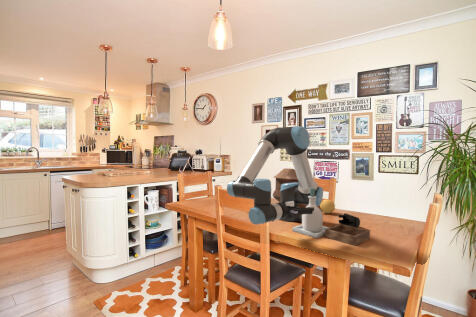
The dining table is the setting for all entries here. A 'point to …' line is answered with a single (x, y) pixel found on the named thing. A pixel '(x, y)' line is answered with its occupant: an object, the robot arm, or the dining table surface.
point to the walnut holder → (336, 234)
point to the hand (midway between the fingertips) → (304, 205)
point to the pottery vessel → (284, 181)
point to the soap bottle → (313, 216)
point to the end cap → (349, 220)
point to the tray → (313, 234)
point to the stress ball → (327, 206)
